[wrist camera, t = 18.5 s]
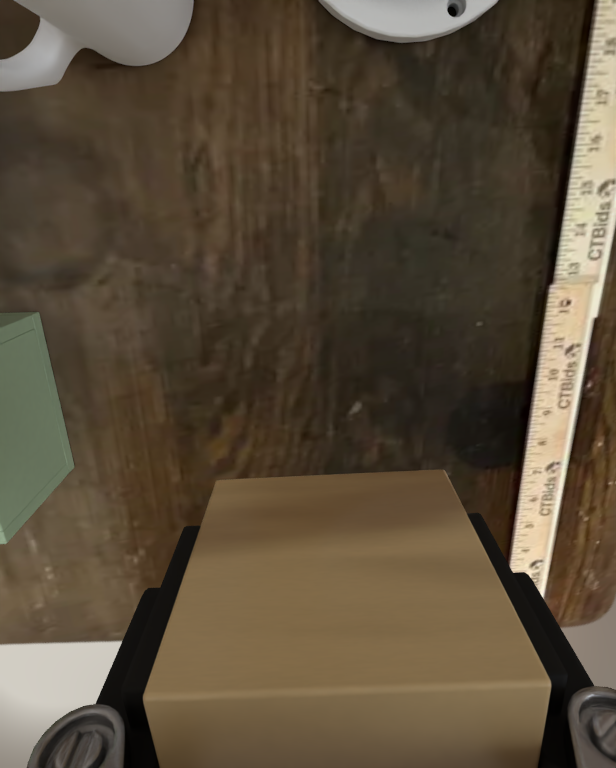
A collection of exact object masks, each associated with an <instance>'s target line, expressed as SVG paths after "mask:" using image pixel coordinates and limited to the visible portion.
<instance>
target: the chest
mask: <svg viewBox="0 0 616 768" xmlns="http://www.w3.org/2000/svg"><path fill="white" fill-rule="evenodd" d="M74 467H75V466H74V462H73V457H72V453H71V449H70V444H69V440H68V436H67V431H66V427H65V423H64V418H63V414H62V410H61V405H60V401H59V397H58V392H57V388H56V384H55V379H54V375H53V371H52V366H51V362H50V358H49V353H48V349H47V345H46V340H45V336H44V332H43V327H42V323H41V319H40V314H39V312H18V313H0V544H6V543H8V541H9V540H10V539H11V538H12V537H13V536H14V535H15V534H16V532H17V531H18V530H19V529H20V528H21V527H22V526H23V524H24V523H25V522H26V521H27V520H28V519H29V518H30V517H31V515H32V514H33V513H34V512H35V511H36V510H37V509H38V508H39V506H40V505H41V504H42V503H43V502H44V501H45V500H46V498H47V497H48V496H49V495H50V494H51V493H52V492H53V491H54V489H55V488H56V487H57V486H58V485H59V484H60V483H61V482H62V480H63V479H64V478H65V477H66V476H67V475H68V474H69V473H70V472H71V471H72V469H73V468H74Z"/></svg>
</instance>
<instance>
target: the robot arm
mask: <svg viewBox="0 0 616 768" xmlns="http://www.w3.org/2000/svg"><path fill="white" fill-rule="evenodd" d="M318 1H319V2H320V3H321V4H322V5H323V6H324V7H325V8H326V9H327V10H328V12H329V13H330V14H331V15H333V16H334V17H335V18H337V19H338V20H340V21H341V22H343V23H344V24H346V25H347V26H349V27H350V28H351V29H353V30H355V31H358V32H360V33H363V34H365V35H368V36H370V37H372V38H375V39H379V40H385V41H392V42H398V43H407V42H422V41H428V40H431V39H435V38H438V37H441V36H445V35H448V34H451V33H453V32H455V31H456V30H458V29H460V28H462V27H464V26H466V25H468V24H470V23H471V22H473V21H475V20H476V19H477V18H478V17H480V16H481V15H482V14H483V13H485V12H486V11H487V10H488V9H490V8H491V7H492V6H493V5H495V4H496V3H497V2H498V1H499V0H318ZM449 7H453V8H455V10H456V16H455V17H452V16H450V15H449V13H448V11H447V9H448V8H449ZM467 516H468V518H469V519H470V521H471V523H472V525H473V527H474V529H475V531H476V533H477V535H478V537H479V539H480V541H481V543H482V545H483V547H484V549H485V551H486V553H487V555H488V557H489V559H490V561H491V563H492V565H493V567H494V569H495V571H496V573H497V575H498V577H499V579H500V581H501V583H502V585H503V587H504V589H505V591H506V593H507V595H508V597H509V599H510V601H511V603H512V605H513V607H514V609H515V611H516V613H517V615H518V617H519V619H520V621H521V623H522V625H523V627H524V629H525V631H526V633H527V635H528V637H529V639H530V641H531V643H532V645H533V647H534V649H535V651H536V653H537V655H538V657H539V659H540V661H541V663H542V665H543V667H544V669H545V671H546V673H547V675H548V677H549V679H550V681H551V692H550V698H549V704H548V710H547V716H546V721H545V727H544V733H543V739H542V745H541V751H540V757H539V763H538V768H616V690H614V689H612V688H608V687H599V686H594V685H593V683H592V681H591V680H590V678H589V676H588V674H587V673H586V671H585V669H584V668H583V666H582V664H581V662H580V661H579V659H578V658H577V656H576V654H575V652H574V651H573V649H572V647H571V645H570V644H569V642H568V640H567V639H566V637H565V635H564V633H563V632H562V630H561V628H560V627H559V625H558V623H557V622H556V620H555V618H554V616H553V615H552V613H551V611H550V610H549V608H548V606H547V605H546V603H545V601H544V599H543V598H542V596H541V594H540V593H539V591H538V589H537V587H536V586H535V584H534V582H533V581H532V579H531V578H530V577H529V575H528V574H526V573H525V572H521V573H513V572H512V570H511V569H510V567H509V565H508V563H507V561H506V559H505V558H504V556H503V554H502V552H501V550H500V548H499V547H498V545H497V543H496V541H495V539H494V537H493V536H492V534H491V532H490V530H489V528H488V526H487V525H486V523H485V521H484V519H483V517H482V516H481V514H479V513H468V514H467ZM200 527H201V526H186V527H184V529H183V531H182V534H181V536H180V539H179V541H178V544H177V547H176V549H175V552H174V554H173V557H172V559H171V562H170V565H169V567H168V570H167V572H166V575H165V577H164V580H163V582H162V585H161V588H148V589H147V590H145V592H144V594H143V595H142V597H141V599H140V602H139V604H138V606H137V609H136V611H135V613H134V616H133V618H132V620H131V623H130V625H129V627H128V630H127V632H126V634H125V637H124V639H123V641H122V644H121V646H120V648H119V651H118V653H117V655H116V658H115V660H114V662H113V665H112V667H111V669H110V672H109V674H108V677H107V679H106V681H105V683H104V686H103V688H102V690H101V693H100V695H99V697H98V700H97V702H96V704H94V705H87V706H83V707H80V708H78V709H76V710H73V711H71V712H69V713H68V714H66V715H65V716H63V717H62V718H60V719H59V720H57V721H56V722H55V723H54V724H53V725H52V726H51V727H50V728H49V729H48V730H47V731H46V732H45V733H44V734H43V735H42V737H41V738H40V740H39V741H38V743H37V744H36V746H35V747H34V749H33V752H32V754H31V757H30V759H29V762H28V765H27V768H160V766H159V762H158V758H157V754H156V750H155V746H154V742H153V739H152V735H151V731H150V727H149V723H148V719H147V715H146V711H145V707H144V703H143V695H144V692H145V689H146V686H147V683H148V680H149V677H150V674H151V671H152V668H153V665H154V662H155V659H156V656H157V654H158V651H159V648H160V645H161V642H162V639H163V636H164V633H165V630H166V627H167V624H168V621H169V618H170V615H171V612H172V609H173V606H174V604H175V601H176V598H177V595H178V592H179V589H180V586H181V583H182V580H183V577H184V574H185V571H186V568H187V565H188V562H189V559H190V557H191V554H192V551H193V548H194V545H195V542H196V539H197V536H198V533H199V530H200Z"/></svg>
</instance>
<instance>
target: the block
mask: <svg viewBox="0 0 616 768" xmlns="http://www.w3.org/2000/svg"><path fill="white" fill-rule="evenodd" d="M550 692H551V681H550V679H549V677H548V675H547V673H546V671H545V669H544V667H543V665H542V663H541V661H540V659H539V657H538V655H537V653H536V651H535V649H534V647H533V645H532V643H531V641H530V639H529V637H528V635H527V633H526V631H525V629H524V627H523V625H522V623H521V621H520V619H519V617H518V615H517V613H516V611H515V609H514V607H513V605H512V603H511V601H510V599H509V597H508V595H507V593H506V591H505V589H504V587H503V585H502V583H501V581H500V579H499V577H498V575H497V573H496V571H495V569H494V567H493V565H492V563H491V561H490V559H489V557H488V555H487V553H486V551H485V549H484V547H483V545H482V543H481V541H480V539H479V537H478V535H477V533H476V531H475V529H474V527H473V525H472V523H471V521H470V519H469V518H468V516H467V514H466V512H465V510H464V508H463V506H462V504H461V502H460V500H459V498H458V496H457V494H456V492H455V490H454V488H453V486H452V484H451V482H450V480H449V478H448V476H447V474H446V472H445V470H442V469H438V470H417V471H396V472H375V473H354V474H333V475H312V476H291V477H270V478H249V479H228V480H218V481H216V483H215V486H214V489H213V492H212V495H211V498H210V501H209V504H208V507H207V509H206V512H205V515H204V518H203V521H202V524H201V527H200V530H199V533H198V536H197V539H196V542H195V545H194V548H193V551H192V554H191V557H190V559H189V562H188V565H187V568H186V571H185V574H184V577H183V580H182V583H181V586H180V589H179V592H178V595H177V598H176V601H175V604H174V606H173V609H172V612H171V615H170V618H169V621H168V624H167V627H166V630H165V633H164V636H163V639H162V642H161V645H160V648H159V651H158V654H157V656H156V659H155V662H154V665H153V668H152V671H151V674H150V677H149V680H148V683H147V686H146V689H145V692H144V695H143V703H144V707H145V711H146V715H147V719H148V723H149V727H150V731H151V735H152V739H153V742H154V746H155V750H156V754H157V758H158V762H159V766H160V768H538V763H539V757H540V751H541V745H542V739H543V733H544V727H545V721H546V716H547V710H548V704H549V698H550Z"/></svg>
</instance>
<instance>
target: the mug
mask: <svg viewBox="0 0 616 768" xmlns="http://www.w3.org/2000/svg"><path fill="white" fill-rule="evenodd" d="M14 1H16V2H17V3H19V4H20V5H22V6H24V7H25V8H27V9H29V10H30V11H32V12H33V13H35V14H37V15H38V16H40V25H39V28H38V30H37V33H36V35H35V37H34V38H33V40H32V42H31V43H30V44H29V45H28V46H27V47H26V48H25V49H24V50H23V51H21V52H20V53H18V54H16V55H15V56H13V57H10V58H8V59H3V60H0V91H2V92H6V91H17V90H24V89H31V88H37V87H43V86H49V85H55V84H57V83H58V82H59V81H60V80H61V79H62V77H63V75H64V73H65V71H66V69H67V67H68V65H69V63H70V62H71V60H72V58H73V57H74V56H75V54H76V53H77V52H78V51H79V50H80V49H82V48H90V49H93V50H95V51H96V52H98V53H100V54H101V55H103V56H105V57H106V58H108V59H110V60H112V61H115V62H117V63H120V64H124V65H130V66H143V65H149V64H153V63H155V62H158V61H160V60H162V59H163V58H165V57H167V56H168V55H169V54H170V53H172V52H173V51H174V50H175V49H176V47H177V46H178V45H179V44H180V42H181V41H182V39H183V38H184V36H185V34H186V32H187V29H188V27H189V24H190V21H191V17H192V12H193V4H194V0H14Z"/></svg>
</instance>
